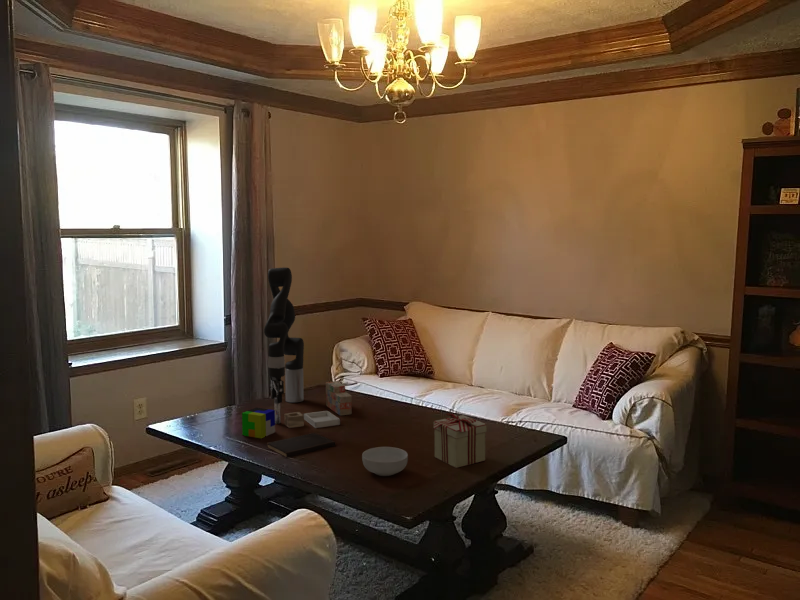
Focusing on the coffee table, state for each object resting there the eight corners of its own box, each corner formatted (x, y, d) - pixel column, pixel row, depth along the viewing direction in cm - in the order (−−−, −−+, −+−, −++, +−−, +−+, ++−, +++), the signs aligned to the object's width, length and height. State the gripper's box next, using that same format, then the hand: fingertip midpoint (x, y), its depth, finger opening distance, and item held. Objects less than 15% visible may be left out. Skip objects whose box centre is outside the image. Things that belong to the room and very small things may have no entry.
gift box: (425, 459, 262) (426, 416, 260) (460, 450, 273) (461, 408, 271) (454, 471, 248) (455, 426, 246) (490, 461, 259) (491, 418, 258)
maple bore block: (284, 424, 309) (284, 413, 308) (299, 422, 312) (298, 411, 311) (289, 428, 302) (288, 417, 302) (303, 426, 306) (303, 415, 305)
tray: (303, 419, 316) (303, 413, 316) (327, 416, 322) (327, 410, 322) (315, 428, 302) (315, 422, 302) (340, 424, 308) (340, 419, 307)
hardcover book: (267, 448, 275) (266, 443, 275) (314, 437, 290) (314, 432, 290) (286, 458, 263) (286, 453, 263) (335, 447, 278) (335, 441, 277)
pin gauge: (273, 422, 310) (273, 397, 309) (279, 422, 311) (279, 396, 310) (275, 424, 308) (275, 398, 307) (281, 423, 309) (280, 398, 308)
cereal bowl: (352, 474, 245) (352, 455, 244) (379, 461, 259) (379, 443, 258) (391, 484, 236) (391, 464, 235) (416, 470, 250) (416, 452, 249)
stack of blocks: (352, 414, 325) (351, 389, 324) (339, 416, 323) (339, 390, 321) (337, 404, 344) (337, 380, 343) (325, 405, 342) (325, 381, 341)
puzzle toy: (275, 432, 296) (274, 410, 295) (261, 438, 287) (260, 415, 286) (256, 429, 300) (256, 407, 299) (242, 435, 291) (242, 413, 290)
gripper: (264, 363, 312) (264, 398, 313) (272, 369, 299) (273, 404, 300) (279, 362, 315) (280, 396, 316) (289, 367, 302) (289, 403, 304)
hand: (276, 400), depth 308 cm, fingers open, 8 cm apart
